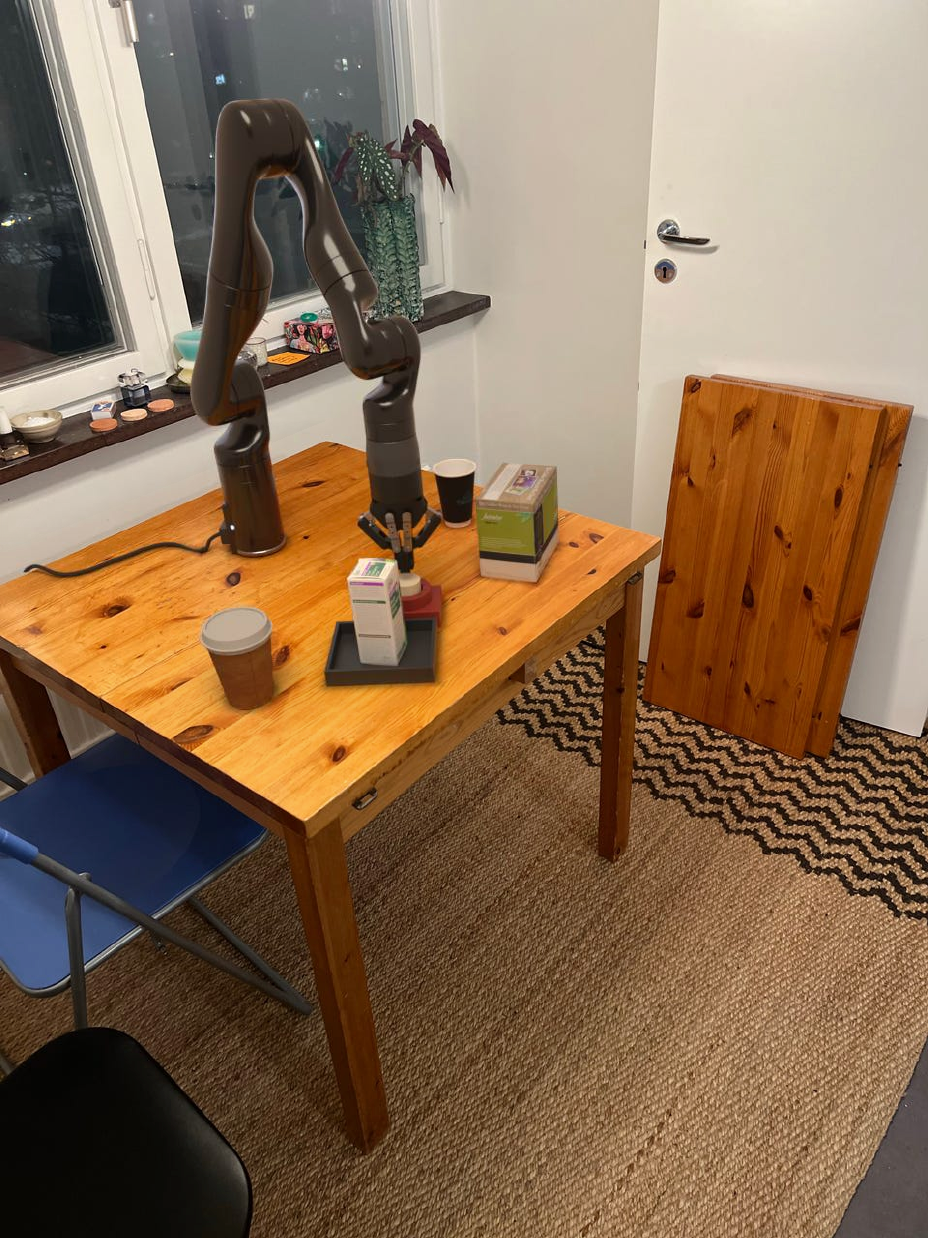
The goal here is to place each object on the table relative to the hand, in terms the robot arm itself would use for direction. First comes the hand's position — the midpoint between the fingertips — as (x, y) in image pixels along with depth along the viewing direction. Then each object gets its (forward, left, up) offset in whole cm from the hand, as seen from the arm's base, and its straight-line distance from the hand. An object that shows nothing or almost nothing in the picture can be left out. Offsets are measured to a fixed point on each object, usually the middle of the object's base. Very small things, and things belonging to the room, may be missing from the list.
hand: (405, 570), depth 139 cm
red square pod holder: (0, 0, -8) cm, 8 cm away
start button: (0, 0, -3) cm, 3 cm away
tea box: (+18, +17, -8) cm, 26 cm away
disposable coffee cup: (-21, -19, -8) cm, 30 cm away
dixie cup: (+7, +33, -8) cm, 34 cm away
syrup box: (-3, -11, -8) cm, 14 cm away
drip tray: (-3, -11, -8) cm, 14 cm away
